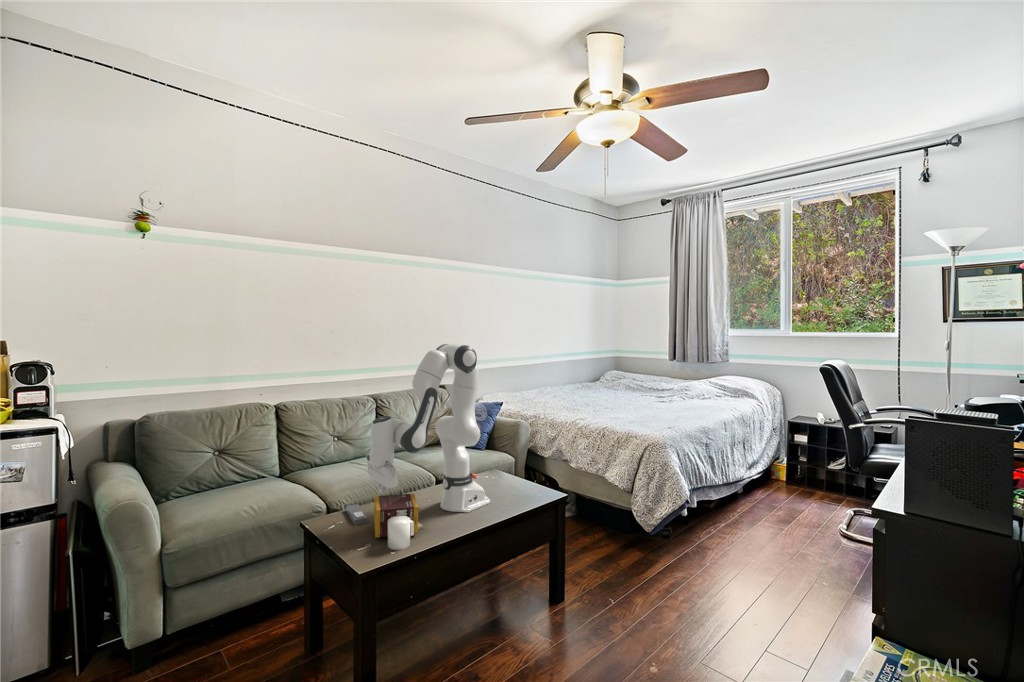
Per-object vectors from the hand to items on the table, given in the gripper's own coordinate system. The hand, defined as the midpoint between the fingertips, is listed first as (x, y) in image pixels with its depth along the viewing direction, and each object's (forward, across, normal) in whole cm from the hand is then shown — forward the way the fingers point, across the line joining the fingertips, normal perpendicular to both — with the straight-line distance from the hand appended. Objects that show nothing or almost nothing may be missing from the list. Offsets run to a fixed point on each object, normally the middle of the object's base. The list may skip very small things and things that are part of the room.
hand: (382, 493), depth 185 cm
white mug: (+14, -16, +1) cm, 21 cm away
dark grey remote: (+14, +17, +4) cm, 23 cm away
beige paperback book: (+14, 0, -7) cm, 16 cm away
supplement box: (+8, -2, +4) cm, 9 cm away
